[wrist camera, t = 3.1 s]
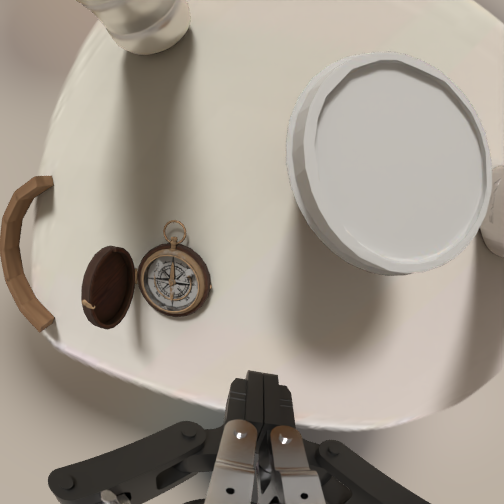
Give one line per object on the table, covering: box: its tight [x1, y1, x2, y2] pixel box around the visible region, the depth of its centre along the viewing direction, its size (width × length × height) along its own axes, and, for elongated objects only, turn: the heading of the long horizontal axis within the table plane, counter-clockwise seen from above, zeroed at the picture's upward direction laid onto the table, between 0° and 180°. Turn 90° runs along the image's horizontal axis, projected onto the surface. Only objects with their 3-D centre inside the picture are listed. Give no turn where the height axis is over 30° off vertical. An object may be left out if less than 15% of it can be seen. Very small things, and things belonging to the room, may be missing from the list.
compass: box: [82, 220, 212, 329], centre depth 19 cm, size 8×8×7 cm
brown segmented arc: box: [0, 176, 55, 332], centre depth 22 cm, size 6×16×2 cm, turn 169°
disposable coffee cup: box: [286, 52, 492, 276], centre depth 14 cm, size 10×10×12 cm
